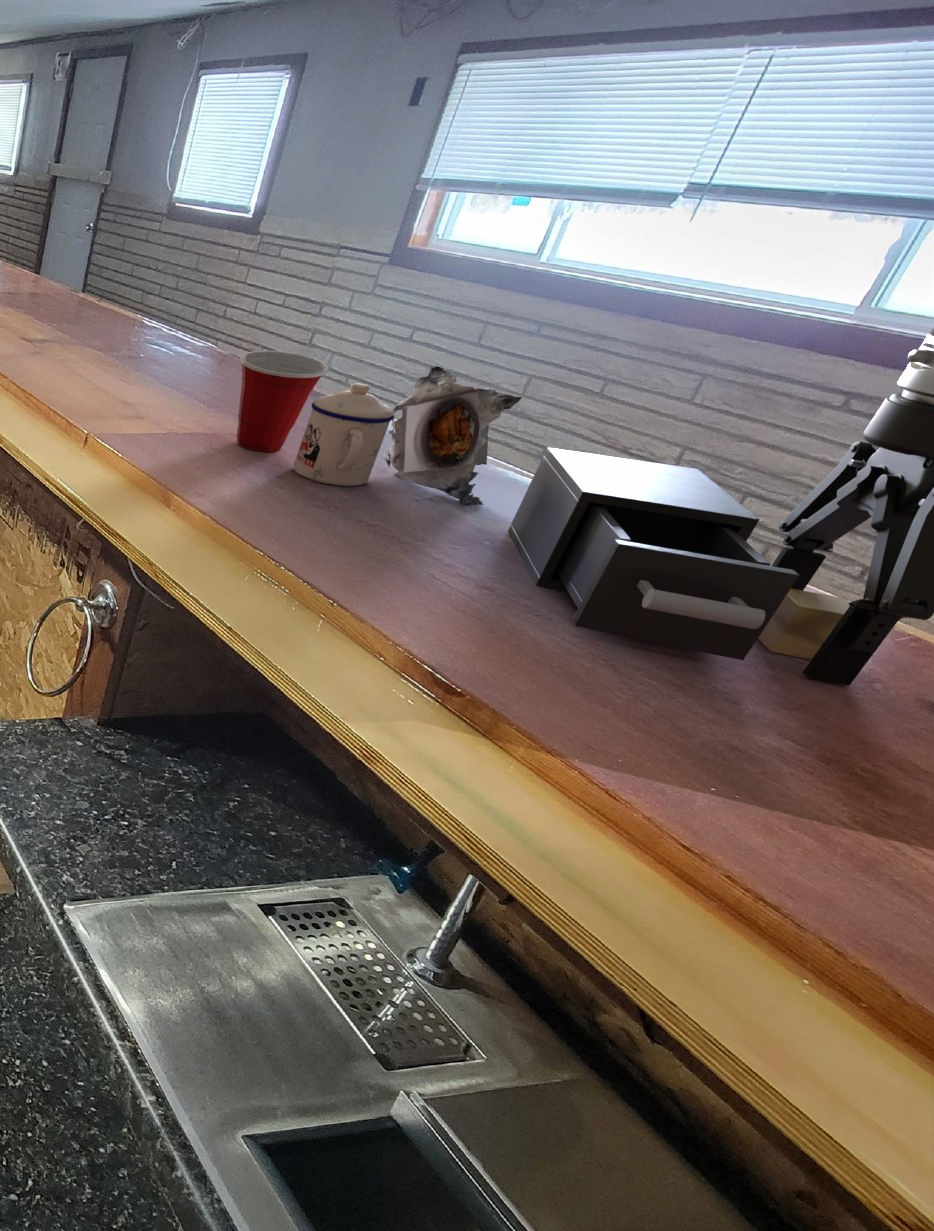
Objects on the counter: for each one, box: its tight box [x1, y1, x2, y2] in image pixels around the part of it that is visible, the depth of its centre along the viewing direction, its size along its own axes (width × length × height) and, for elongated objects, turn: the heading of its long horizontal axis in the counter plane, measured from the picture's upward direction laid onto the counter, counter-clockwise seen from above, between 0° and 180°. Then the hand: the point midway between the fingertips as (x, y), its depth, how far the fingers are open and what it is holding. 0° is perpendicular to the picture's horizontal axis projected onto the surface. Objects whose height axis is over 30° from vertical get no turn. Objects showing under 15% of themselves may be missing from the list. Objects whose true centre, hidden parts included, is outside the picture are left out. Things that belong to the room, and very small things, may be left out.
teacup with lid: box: [293, 382, 395, 487], centre depth 111 cm, size 12×9×12 cm
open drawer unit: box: [555, 502, 799, 661], centre depth 79 cm, size 19×12×8 cm, turn 154°
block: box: [757, 589, 850, 661], centre depth 78 cm, size 4×4×4 cm
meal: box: [383, 365, 523, 506], centre depth 111 cm, size 15×4×13 cm, turn 8°
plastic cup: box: [236, 350, 329, 453], centre depth 122 cm, size 11×11×12 cm
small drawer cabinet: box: [507, 446, 760, 592], centre depth 90 cm, size 16×13×10 cm
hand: (791, 645), depth 79 cm, fingers open, 12 cm apart
